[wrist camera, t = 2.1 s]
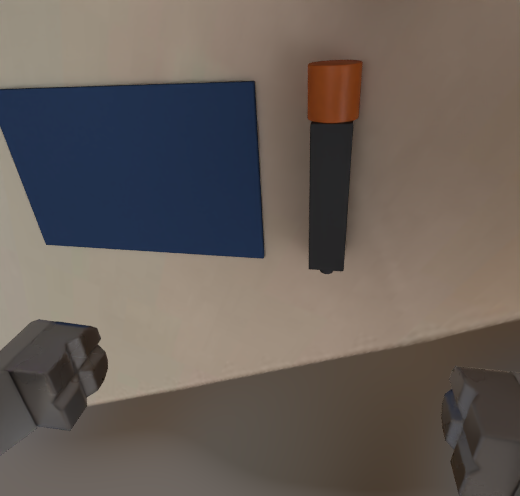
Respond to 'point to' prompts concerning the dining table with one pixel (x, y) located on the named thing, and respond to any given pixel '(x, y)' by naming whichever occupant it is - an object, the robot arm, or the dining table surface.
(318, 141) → the marker
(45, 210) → the mat
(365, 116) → the dining table surface
